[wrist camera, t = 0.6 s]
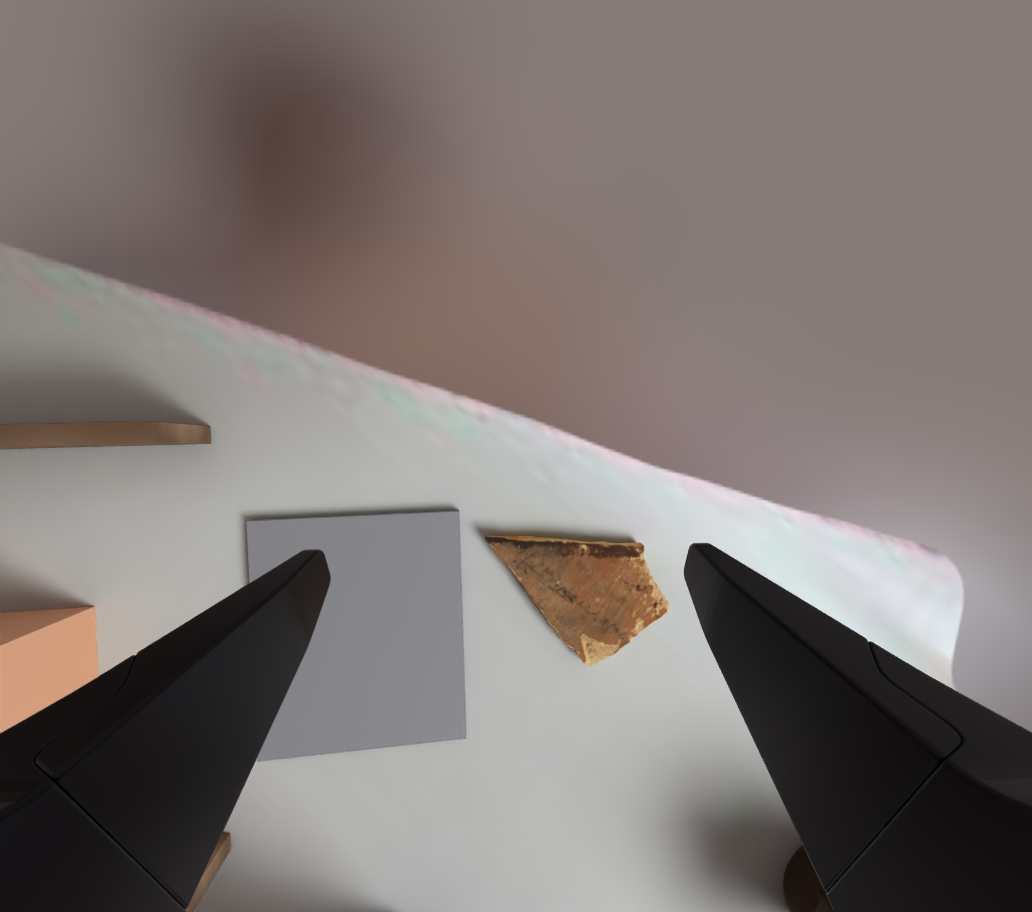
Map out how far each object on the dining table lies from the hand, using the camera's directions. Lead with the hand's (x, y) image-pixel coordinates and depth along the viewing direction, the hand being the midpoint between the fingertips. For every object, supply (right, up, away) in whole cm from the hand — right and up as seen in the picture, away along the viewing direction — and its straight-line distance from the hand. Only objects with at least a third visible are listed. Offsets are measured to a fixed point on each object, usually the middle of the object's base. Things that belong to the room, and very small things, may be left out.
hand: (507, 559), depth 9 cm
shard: (+4, -7, +16) cm, 17 cm away
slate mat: (-9, -8, +14) cm, 18 cm away
